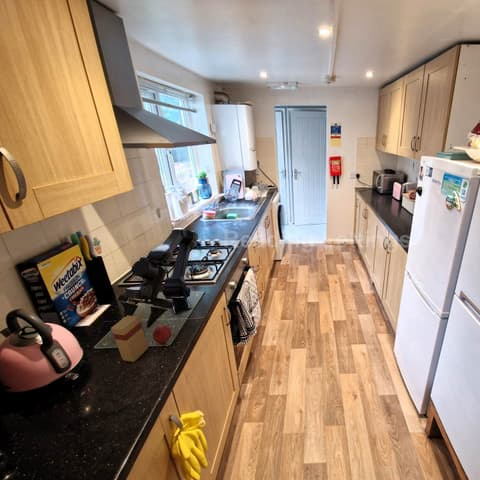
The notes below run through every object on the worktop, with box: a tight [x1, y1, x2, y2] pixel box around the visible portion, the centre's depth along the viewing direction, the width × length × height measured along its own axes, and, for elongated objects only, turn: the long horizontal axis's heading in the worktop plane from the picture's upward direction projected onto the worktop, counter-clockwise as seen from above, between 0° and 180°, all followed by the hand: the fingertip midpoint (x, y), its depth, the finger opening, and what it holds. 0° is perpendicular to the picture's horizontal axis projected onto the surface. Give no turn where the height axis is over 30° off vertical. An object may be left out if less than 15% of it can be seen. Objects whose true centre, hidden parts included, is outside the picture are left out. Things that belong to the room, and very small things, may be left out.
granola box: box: [110, 315, 149, 363], centre depth 91 cm, size 4×7×14 cm
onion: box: [152, 323, 172, 344], centre depth 97 cm, size 6×6×8 cm
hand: (136, 325), depth 92 cm, fingers open, 9 cm apart
